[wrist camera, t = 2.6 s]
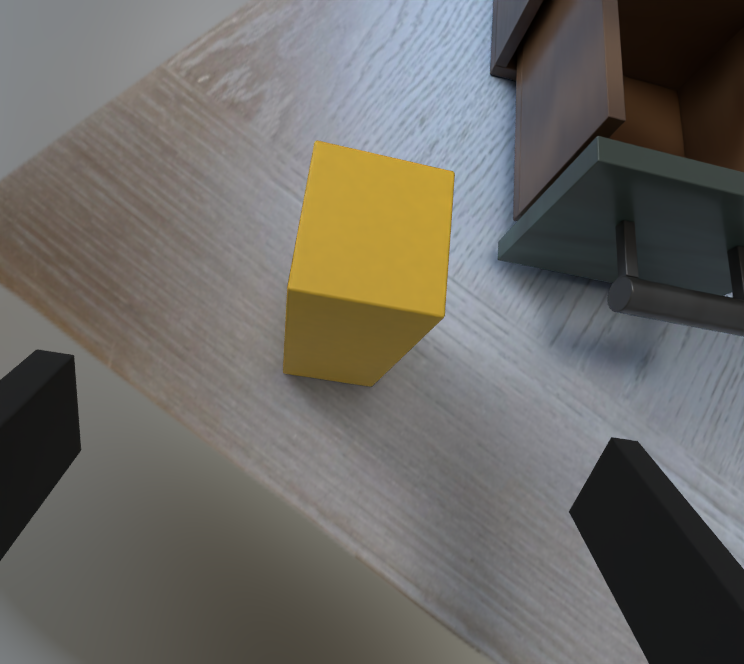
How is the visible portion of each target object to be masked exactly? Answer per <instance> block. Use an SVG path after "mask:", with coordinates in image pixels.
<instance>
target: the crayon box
mask: <svg viewBox="0 0 744 664" xmlns="http://www.w3.org/2000/svg"><path fill="white" fill-rule="evenodd" d="M454 177H455V173H454V172H453V171H449V170H444V169H440V168H436V167H431V166H427V165H422V164H418V163H414V162H409V161H405V160H401V159H396V158H392V157H387V156H383V155H379V154H374V153H370V152H365V151H361V150H357V149H352V148H348V147H343V146H339V145H335V144H330V143H326V142H322V141H316V142H315V143H314V148H313V153H312V158H311V164H310V169H309V174H308V180H307V185H306V190H305V195H304V201H303V206H302V211H301V217H300V222H299V227H298V233H297V238H296V243H295V249H294V254H293V259H292V265H291V270H290V275H289V281H288V286H287V301H286V321H285V340H284V360H283V373H284V374H291V375H297V376H304V377H310V378H317V379H323V380H330V381H336V382H343V383H349V384H356V385H362V386H369V387H372V386H373V385H374V384H375V383H376V382H377V381H378V380H379V379H380V378H381V377H382V376H383V375H385V374H386V373H387V372H388V371H389V370H390V369H391V368H392V367H393V366H394V365H395V364H396V363H397V362H398V361H399V360H400V359H401V358H402V357H403V356H404V355H405V354H406V353H407V352H409V351H410V350H411V349H412V348H413V347H414V346H415V345H416V344H417V343H418V342H419V341H420V340H421V339H422V338H423V337H424V336H425V335H426V334H427V333H428V332H429V331H430V330H431V329H433V328H434V327H435V326H436V325H437V324H438V323H439V322H440V321H441V320H442V319H443V318H444V316H445V305H446V290H447V276H448V262H449V248H450V234H451V220H452V206H453V191H454Z"/></svg>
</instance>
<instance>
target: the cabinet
mask: <svg viewBox="0 0 744 664" xmlns="http://www.w3.org/2000/svg"><path fill="white" fill-rule="evenodd" d="M543 2H544V0H493V22H492V43H491V65H490V74H491V75H495V76H499V77H503V78H506V79H510V80H514V81H516V78H517V49H518V47H519V45H520V44H521V42H522V40H523V38H524V36H525V34H526V33H527V31H528V29H529V27H530V25H531V24H532V22H533V20H534V18H535V16H536V15H537V13H538V11H539V9H540V8H541V6H542V4H543Z"/></svg>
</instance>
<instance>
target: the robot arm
mask: <svg viewBox="0 0 744 664" xmlns="http://www.w3.org/2000/svg"><path fill="white" fill-rule="evenodd" d="M80 451H81V443H80V430H79V416H78V403H77V389H76V376H75V362H74V355H69V354H63V353H56V352H49V351H43V350H35V351H34V352H33V353H32V354H31V355H29V356H28V357H27V358H26V359H25V360H24V361H22V362H21V363H20V364H19V365H18V366H16V367H15V368H14V369H13V370H12V371H11V372H9V373H8V374H7V375H6V376H5V377H3V378H2V379H1V380H0V561H1V559H2V558H3V556H4V555H5V554H6V552H7V551H8V550H9V548H10V547H11V546H12V544H13V543H14V541H15V540H16V539H17V537H18V536H19V535H20V533H21V532H22V530H23V529H24V528H25V526H26V525H27V524H28V522H29V521H30V519H31V518H32V517H33V515H34V514H35V513H36V511H37V510H38V509H39V507H40V506H41V504H42V503H43V502H44V500H45V499H46V498H47V496H48V495H49V494H50V492H51V491H52V489H53V488H54V486H55V485H56V484H57V483H58V481H59V480H60V479H61V477H62V475H63V474H64V473H65V472H66V470H67V469H68V468H69V466H70V465H71V463H72V462H73V461H74V459H75V458H76V457H77V455H78V454H79V453H80ZM569 513H570V515H571V517H572V519H573V520H574V522H575V524H576V526H577V528H578V530H579V532H580V534H581V536H582V537H583V539H584V541H585V543H586V545H587V547H588V549H589V551H590V553H591V554H592V556H593V558H594V560H595V562H596V564H597V566H598V568H599V570H600V572H601V573H602V575H603V577H604V579H605V581H606V583H607V585H608V587H609V589H610V590H611V592H612V594H613V596H614V598H615V600H616V602H617V604H618V606H619V608H620V609H621V611H622V613H623V615H624V617H625V619H626V621H627V623H628V625H629V626H630V628H631V630H632V632H633V634H634V636H635V638H636V640H637V642H638V644H639V645H640V647H641V649H642V651H643V653H644V655H645V657H646V659H647V661H648V662H649V664H744V569H743V568H742V567H741V565H740V564H739V563H738V562H737V561H736V559H735V558H734V557H733V556H732V555H731V553H730V552H729V551H728V550H727V548H726V547H725V546H724V545H723V544H722V542H721V541H720V540H719V539H718V538H717V536H716V535H715V534H714V533H713V532H712V530H711V529H710V528H709V527H708V526H707V524H706V523H705V522H704V521H703V520H702V518H701V517H700V516H699V515H698V513H697V512H696V511H695V510H694V509H693V507H692V506H691V505H690V504H689V503H688V501H687V500H686V499H685V498H684V497H683V495H682V494H681V493H680V492H679V491H678V489H677V488H676V487H675V486H674V485H673V483H672V482H671V481H670V480H669V478H668V477H667V476H666V475H665V474H664V472H663V471H662V470H661V469H660V468H659V466H658V465H657V464H656V463H655V462H654V460H653V459H652V458H651V457H650V456H649V454H648V453H647V452H646V451H645V450H644V448H643V447H642V446H641V445H640V443H639V442H638V441H632V440H626V439H619V438H613V437H611V439H610V441H609V442H608V444H607V446H606V448H605V449H604V451H603V453H602V455H601V456H600V458H599V460H598V462H597V463H596V465H595V467H594V469H593V470H592V472H591V474H590V476H589V477H588V479H587V481H586V483H585V484H584V486H583V488H582V490H581V491H580V493H579V495H578V497H577V498H576V500H575V502H574V504H573V505H572V507H571V509H570V511H569Z"/></svg>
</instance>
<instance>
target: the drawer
mask: <svg viewBox="0 0 744 664" xmlns="http://www.w3.org/2000/svg"><path fill="white" fill-rule="evenodd" d="M513 220H514V221H517V222H516V223H515V224H514V225H513V227H512V228H511V229H510V230H509V231H508V232H507V233H506V234H505V235H504V236H503V237H502V238H501V239H500V240H499V242H498V260H501V261H506V262H511V263H516V264H521V265H525V266H530V267H535V268H540V269H545V270H550V271H555V272H560V273H565V274H570V275H575V276H580V277H585V278H590V279H595V280H600V281H605V282H610V283H613V284H612V285H611V287H610V290H609V293H608V305H609V307H610V309H611V310H612V311H614V312H618V313H623V314H628V315H634V316H639V317H644V318H649V319H654V320H660V321H665V322H670V323H675V324H680V325H686V326H691V327H696V328H701V329H706V330H712V331H717V332H722V333H727V334H732V335H738V336H743V337H744V0H544V2H543V4H542V6H541V8H540V9H539V11H538V13H537V15H536V16H535V18H534V20H533V22H532V24H531V25H530V27H529V29H528V31H527V33H526V34H525V36H524V38H523V40H522V42H521V44H520V45H519V47H518V49H517V78H516V122H515V165H514V209H513ZM730 292H733V298H731V297H726V296H723V295H725V294H728V293H730Z"/></svg>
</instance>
